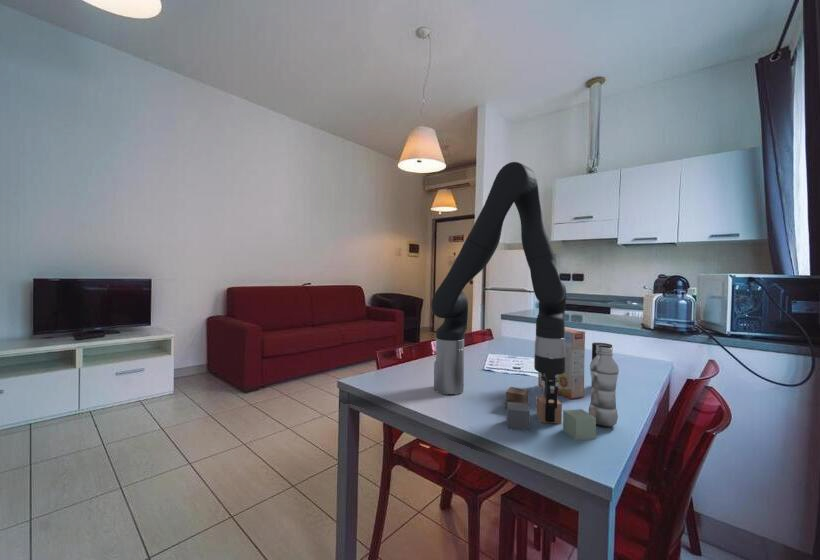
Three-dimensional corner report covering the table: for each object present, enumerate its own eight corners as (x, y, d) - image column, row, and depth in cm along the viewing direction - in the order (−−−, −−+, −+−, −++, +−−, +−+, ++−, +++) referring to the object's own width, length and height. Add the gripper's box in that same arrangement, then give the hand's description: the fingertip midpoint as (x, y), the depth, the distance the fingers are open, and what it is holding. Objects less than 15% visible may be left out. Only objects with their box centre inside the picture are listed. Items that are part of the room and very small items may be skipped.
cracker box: (585, 397, 103) (586, 331, 103) (570, 400, 101) (571, 332, 100) (550, 383, 116) (551, 324, 116) (537, 385, 114) (538, 325, 113)
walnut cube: (505, 409, 93) (505, 391, 93) (510, 403, 98) (510, 386, 98) (523, 413, 91) (523, 395, 91) (527, 407, 95) (527, 389, 95)
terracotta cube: (541, 422, 85) (541, 403, 85) (536, 414, 90) (536, 396, 90) (561, 423, 84) (561, 404, 84) (555, 415, 89) (555, 397, 89)
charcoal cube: (508, 429, 81) (508, 409, 81) (506, 420, 86) (506, 401, 86) (529, 431, 80) (529, 411, 80) (526, 422, 85) (527, 403, 85)
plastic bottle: (606, 418, 88) (608, 343, 87) (624, 430, 81) (625, 349, 81) (583, 418, 87) (584, 343, 87) (598, 430, 81) (599, 349, 80)
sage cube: (576, 440, 76) (576, 419, 76) (563, 430, 81) (563, 410, 81) (595, 439, 76) (596, 417, 76) (581, 429, 81) (581, 409, 81)
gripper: (532, 346, 95) (531, 405, 95) (536, 358, 81) (535, 426, 81) (561, 348, 93) (559, 408, 93) (569, 361, 79) (568, 431, 79)
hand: (548, 416), depth 87 cm, fingers closed on terracotta cube, 5 cm apart
